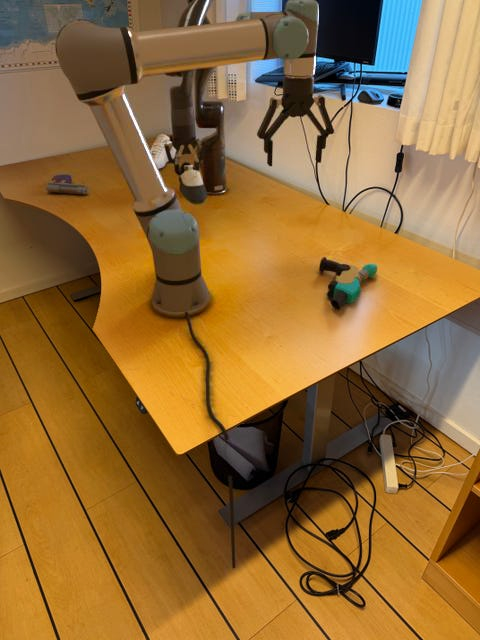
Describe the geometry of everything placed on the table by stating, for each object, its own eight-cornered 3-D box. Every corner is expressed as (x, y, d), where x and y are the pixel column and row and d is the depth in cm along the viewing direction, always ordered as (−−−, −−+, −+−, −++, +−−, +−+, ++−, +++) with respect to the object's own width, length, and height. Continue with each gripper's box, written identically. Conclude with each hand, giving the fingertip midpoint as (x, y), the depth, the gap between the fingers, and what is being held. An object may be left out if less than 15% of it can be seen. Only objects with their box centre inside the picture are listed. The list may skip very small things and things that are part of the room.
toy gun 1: (101, 183, 198) (84, 197, 186) (60, 181, 201) (41, 194, 189) (99, 174, 195) (82, 188, 184) (58, 172, 199) (39, 185, 187)
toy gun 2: (296, 289, 121) (353, 304, 115) (329, 248, 140) (380, 259, 134) (295, 304, 124) (351, 319, 118) (328, 261, 142) (377, 273, 136)
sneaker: (133, 173, 208) (129, 144, 201) (161, 153, 230) (158, 127, 223) (155, 175, 205) (151, 146, 198) (180, 155, 227) (178, 129, 220)
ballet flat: (185, 207, 148) (184, 181, 143) (171, 182, 166) (169, 158, 162) (211, 204, 150) (210, 178, 145) (194, 179, 168) (193, 156, 164)
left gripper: (341, 71, 121) (333, 155, 133) (245, 75, 117) (246, 161, 130) (352, 76, 115) (342, 164, 127) (252, 80, 111) (251, 170, 124)
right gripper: (202, 116, 157) (205, 167, 167) (159, 120, 154) (164, 172, 164) (207, 122, 151) (210, 174, 161) (162, 126, 148) (168, 179, 158)
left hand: (294, 163), depth 129 cm, fingers open, 13 cm apart
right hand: (187, 173), depth 162 cm, fingers closed on ballet flat, 5 cm apart
